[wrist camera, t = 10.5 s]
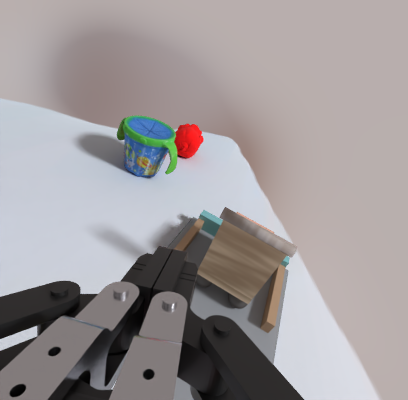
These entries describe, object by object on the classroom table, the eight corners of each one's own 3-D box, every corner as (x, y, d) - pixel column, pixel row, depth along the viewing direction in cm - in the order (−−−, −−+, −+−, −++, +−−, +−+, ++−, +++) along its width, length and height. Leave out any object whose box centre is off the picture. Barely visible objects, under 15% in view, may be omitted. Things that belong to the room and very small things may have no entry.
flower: (165, 134, 63) (174, 124, 69) (170, 162, 67) (178, 150, 73) (195, 132, 61) (201, 122, 68) (199, 161, 65) (204, 149, 72)
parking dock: (252, 476, 23) (270, 470, 21) (80, 353, 26) (81, 337, 24) (287, 272, 46) (297, 260, 44) (192, 218, 49) (198, 205, 47)
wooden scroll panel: (242, 318, 35) (296, 251, 27) (186, 284, 36) (222, 210, 28) (258, 266, 44) (303, 204, 36) (213, 240, 45) (246, 175, 37)
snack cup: (181, 183, 58) (194, 143, 52) (144, 194, 50) (155, 149, 44) (139, 148, 64) (147, 109, 58) (100, 154, 56) (105, 110, 50)
